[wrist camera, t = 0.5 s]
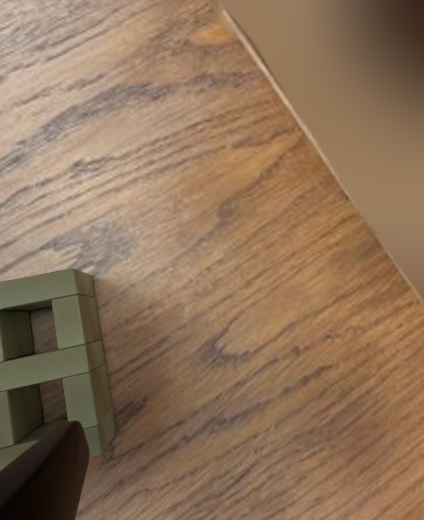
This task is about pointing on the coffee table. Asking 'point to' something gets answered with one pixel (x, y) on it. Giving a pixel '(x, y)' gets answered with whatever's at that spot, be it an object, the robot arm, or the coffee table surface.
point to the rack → (52, 362)
